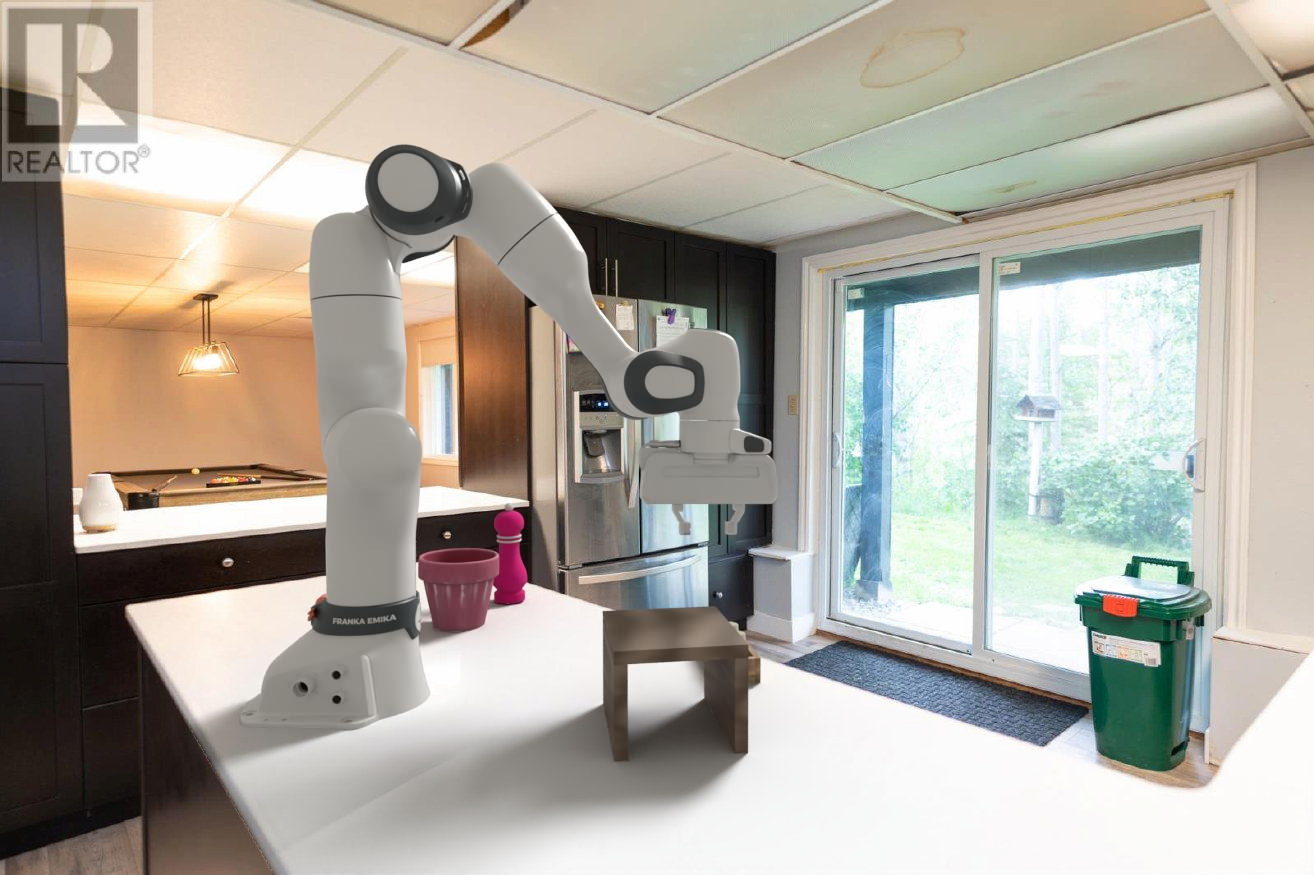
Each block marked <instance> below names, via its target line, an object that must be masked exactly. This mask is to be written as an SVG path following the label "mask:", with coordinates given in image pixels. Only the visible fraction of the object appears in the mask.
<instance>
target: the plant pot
mask: <svg viewBox="0 0 1314 875" xmlns="http://www.w3.org/2000/svg"><path fill="white" fill-rule="evenodd" d="M417 560H418V563H417V577H418V579H419V580H421V581H423V586H424V591H425V595H426V599H427V604H428V609H429V613H430V618H431V620H432V621H431V622H432V627H433V628H434V629H435V630H437V631H440V630H441V631H440V632H446V631H461V632H465V631H464V630H468V631H472V629H473V630H476V629H479V628H481V627H482V625H483V626H484V625H485V623H486V619H487V614H488V611H489V604H490V600H491V596H492V592H493V591H492V590H493V587H494V586H493V581H494V578H495V577H496V576H497V575H498V574H499V552H496V551H494V550H491V549H487V548H486V549H485V548H478V547H477V548H474V547H473V548H470V547H469V548H468V547H466V548H465V547H464V548H463V547H462V548H460V547H459V548H447V549H439V550H431V551H428V552H425V553H423V554H421V555H419V557H418V559H417ZM480 626H481V627H480ZM478 627H479V628H478Z"/></svg>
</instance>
